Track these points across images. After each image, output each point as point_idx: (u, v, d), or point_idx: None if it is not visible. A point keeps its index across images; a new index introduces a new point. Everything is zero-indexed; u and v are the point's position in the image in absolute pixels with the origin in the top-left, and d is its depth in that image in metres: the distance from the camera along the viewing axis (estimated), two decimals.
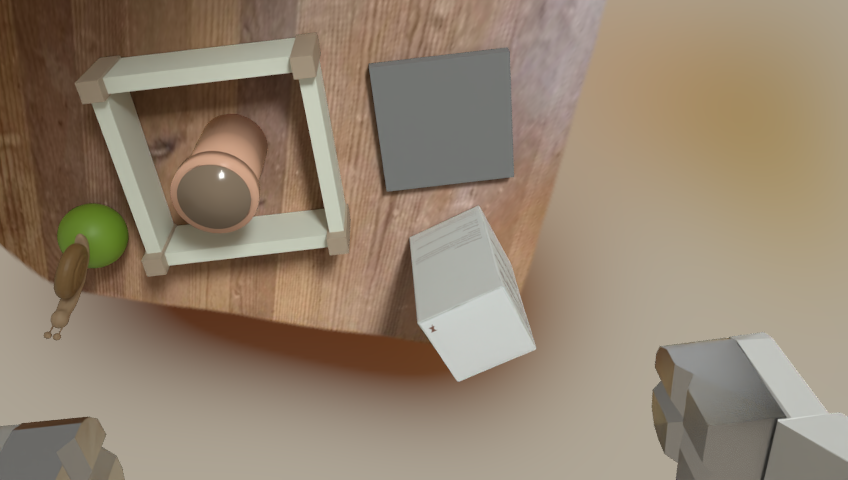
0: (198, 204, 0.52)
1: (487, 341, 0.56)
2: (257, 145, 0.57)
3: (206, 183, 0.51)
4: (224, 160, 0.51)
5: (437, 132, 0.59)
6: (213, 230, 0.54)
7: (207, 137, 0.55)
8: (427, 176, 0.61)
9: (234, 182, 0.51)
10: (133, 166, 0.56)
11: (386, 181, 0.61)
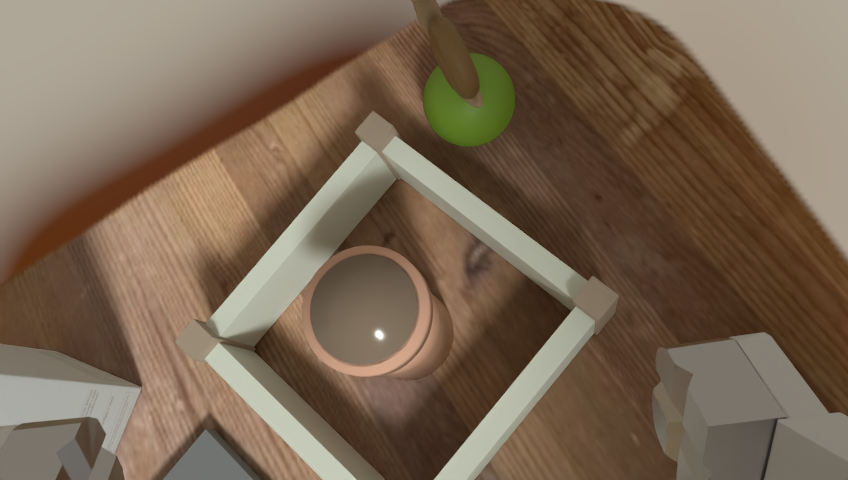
0: (374, 283, 0.34)
1: None
2: None
3: (384, 321, 0.33)
4: (386, 369, 0.33)
5: None
6: (333, 260, 0.35)
7: (436, 342, 0.38)
8: None
9: (354, 351, 0.33)
10: (487, 233, 0.39)
11: (214, 441, 0.42)
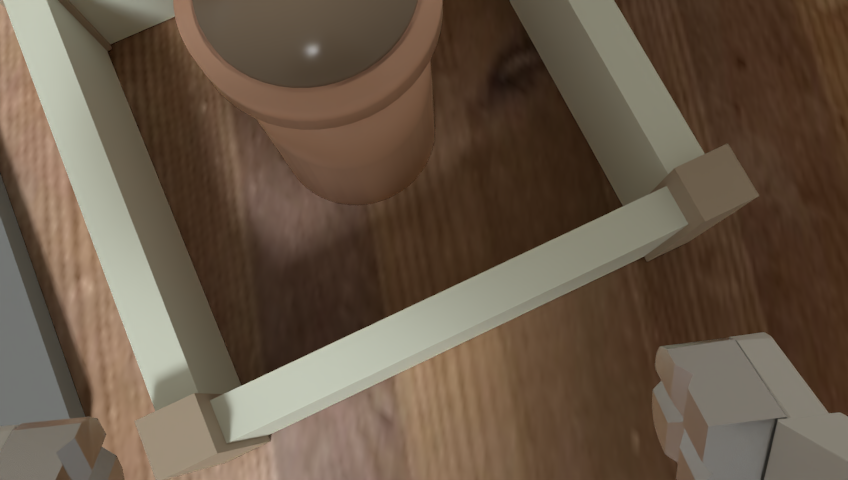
0: None
1: None
2: (283, 155, 0.22)
3: (336, 18, 0.16)
4: (299, 109, 0.16)
5: None
6: None
7: (402, 141, 0.21)
8: None
9: (252, 48, 0.16)
10: (568, 10, 0.21)
11: None
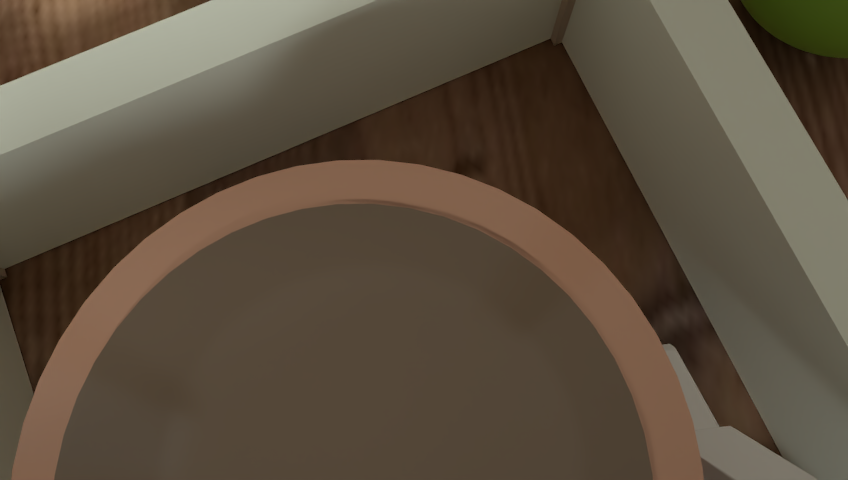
0: (458, 392, 0.06)
1: None
2: None
3: None
4: None
5: None
6: (304, 184, 0.07)
7: None
8: None
9: None
10: (822, 323, 0.11)
11: None
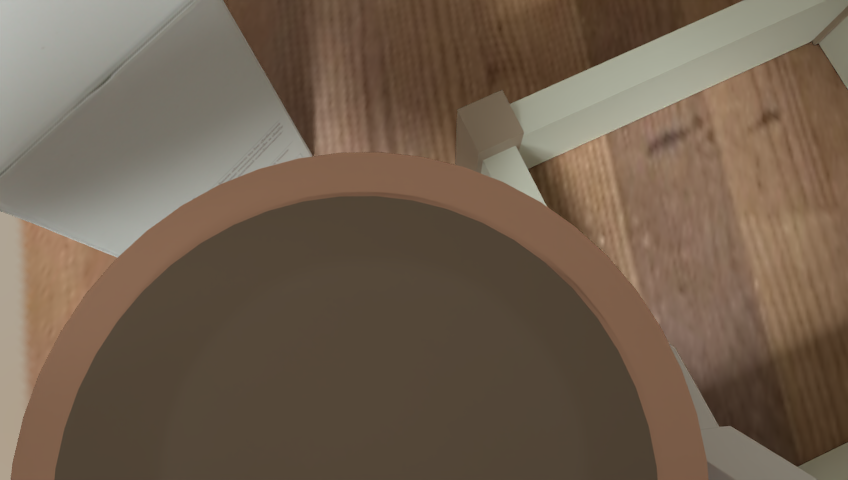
0: (462, 385, 0.06)
1: None
2: None
3: None
4: None
5: None
6: (306, 177, 0.07)
7: None
8: None
9: None
10: None
11: None
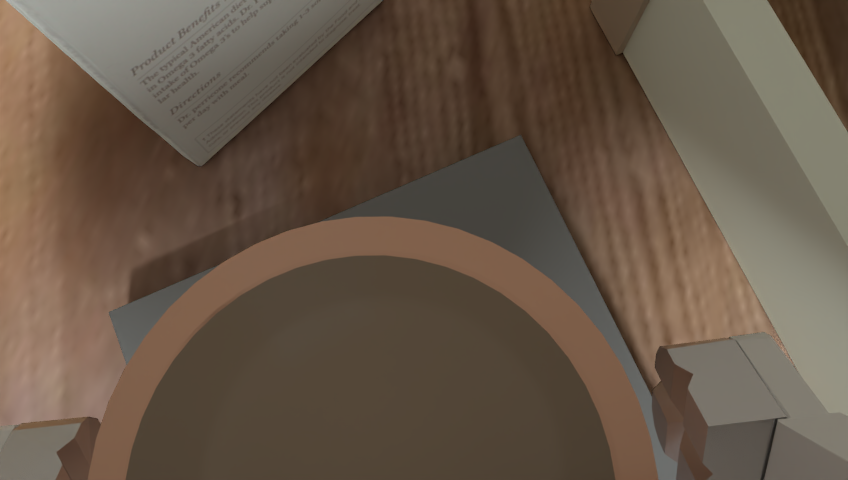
0: (457, 413, 0.08)
1: None
2: None
3: None
4: None
5: None
6: (327, 237, 0.08)
7: None
8: None
9: None
10: None
11: (534, 170, 0.18)
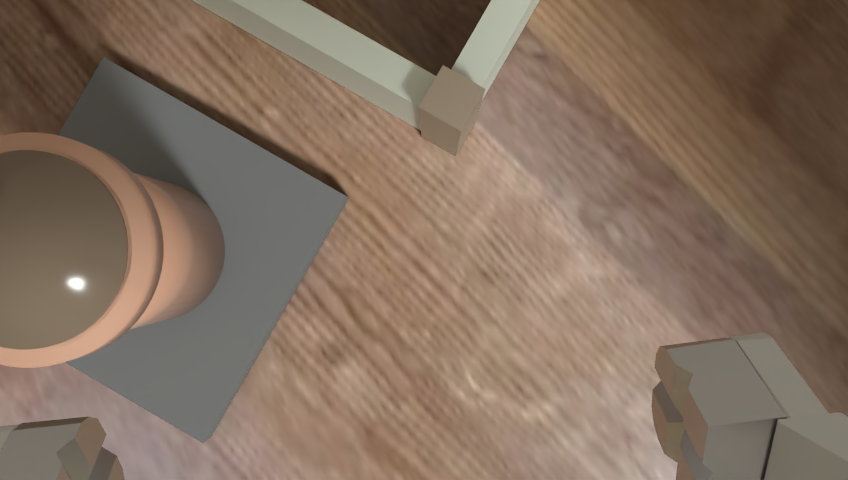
0: (34, 201, 0.19)
1: None
2: None
3: (72, 262, 0.19)
4: (100, 342, 0.19)
5: None
6: None
7: (190, 262, 0.24)
8: None
9: (32, 327, 0.19)
10: None
11: (123, 71, 0.28)
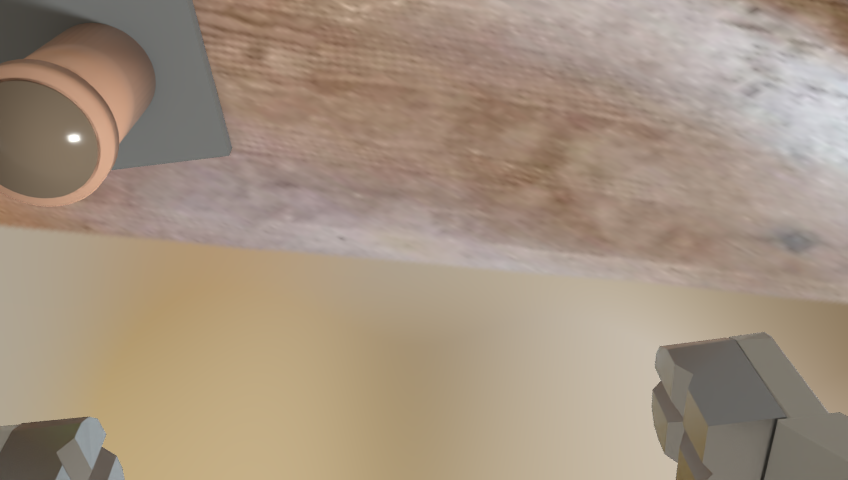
0: (8, 117, 0.29)
1: None
2: None
3: (57, 130, 0.30)
4: (110, 155, 0.31)
5: None
6: None
7: (119, 71, 0.34)
8: None
9: (75, 173, 0.31)
10: None
11: None
